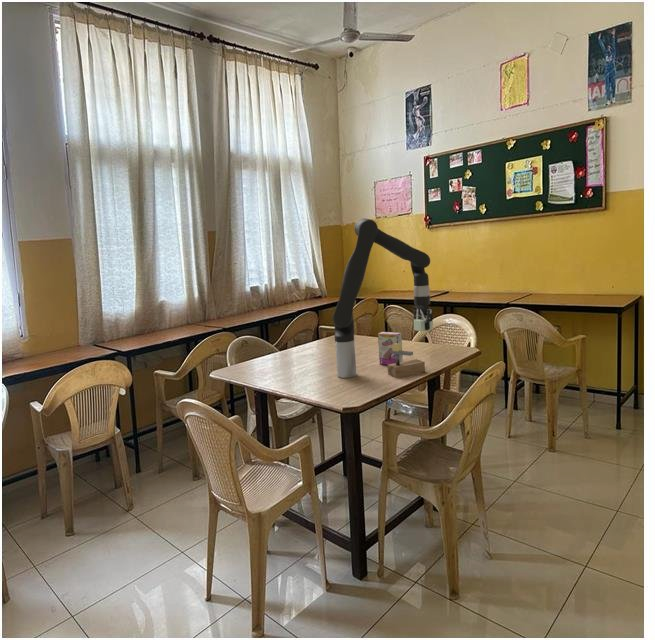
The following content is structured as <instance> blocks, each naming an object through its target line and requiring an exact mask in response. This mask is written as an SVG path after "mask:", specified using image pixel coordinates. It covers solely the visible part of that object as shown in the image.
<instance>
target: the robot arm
mask: <svg viewBox="0 0 655 640" xmlns="http://www.w3.org/2000/svg"><path fill="white" fill-rule="evenodd" d="M353 226H354V227H353V228H354V233H355V235H356V236H357V239H356V244H355V248H354V250H353V252H352V254H351V256H350V257H349V259H348V261H347V263H346V266H345V270H344V273H343V277H342V283H341V288H340V294H339V298H338V301H337V304H336V307H335V309H334V312H333V314H332V322H333V324H334V344H335V359H336V361H335V362H336V370H337V371H336V374H337V377H338V378H342V379H347V378H349V379H350V378H354V377H356V376H357V373H358V372H357V362H356V361H357V360H356V359H357V358H356V346H355V325H354V323H355V322H354V313H353V311H354V307H355V302H356V299H357V297H358V295H359V292H360V291H361V290H360V289H361V287H362V285H363V282H364V279H365V274H366V270H367V266H368V261H369V259H370V254H371V251H372V248H373V245H374V243H375V244H377V245H378V246H380V247H382V248H383V249H385V250H387V251H388V252H390V253H392V254H393V255H395V256H396V257H398V258H400V259H402V260H404V261H409V262H410V268H411V273H412V275H413V299H414V300H413V301H414V303H413V304H414V306H413V307H412V313H413V320H417V319H423V318H424V321H425V330H428V331H431V330H430V322H431V321H433V322H434V319H433V318H434V317H433V316H434V310H433V309H434V308H431V309H430V307H429V305H430V304H431V292H430V291H431V289H430V283H429V282H430V281H429V280H430V279H429V274H428V273H427V272H426V270H425V268H427V267H429V266H430V264H431V258H430V256H429V254H427V253H425V252H423V251H422V250H419V249H417V248H415V247H413V246H411V245H409V244H408V243H406V242H404V241H402V240H401V239H399V238H396V237H395V236H392V235H390V234H389V233H386V232H384V231H383V230H381V229H380V228H378V224H377V222H376V221H375V220H373V219H370V218H361V219H358V220H357V221H356V222H355V223H354V225H353ZM426 318H427V320H426Z"/></svg>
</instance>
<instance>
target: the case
mask: <svg viewBox="0 0 655 640" xmlns="http://www.w3.org/2000/svg"><path fill="white" fill-rule="evenodd" d="M425 366H426V365H425V361H423V360H420V359H418V358H417V359H410V360H405V361H404V360H403V362H400V365H396V363H393V364H388V365H387V376H389V377H392V378H394V379H398V378H402V377H407V376H413V375H418V374H422V373H426V369H425V368H426V367H425Z"/></svg>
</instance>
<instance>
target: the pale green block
mask: <svg viewBox="0 0 655 640" xmlns="http://www.w3.org/2000/svg"><path fill="white" fill-rule="evenodd" d="M426 320H427V318H426ZM433 330H434V320H433V321H431V322H430V330H425V321H424V318H423V317H422V319H417V320H416V319H413V331H416V332H422V333H423V332H427V331H433Z"/></svg>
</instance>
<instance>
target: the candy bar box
mask: <svg viewBox="0 0 655 640" xmlns="http://www.w3.org/2000/svg"><path fill="white" fill-rule="evenodd" d="M377 339H378V356H379V365H381V366H382V365H383V366H388V364H393V363H396V358H395V354H391V353H390V351H391V350H392V344H394V343H398V344H401V348H402V349H403V342H402V341H403V336H402V332H391V331H380V332H378V333H377ZM403 356H404V355H399V360H400V362H404V359H403V358H404V357H403Z"/></svg>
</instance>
